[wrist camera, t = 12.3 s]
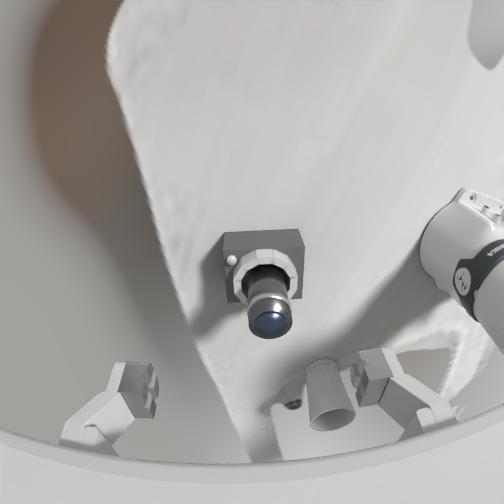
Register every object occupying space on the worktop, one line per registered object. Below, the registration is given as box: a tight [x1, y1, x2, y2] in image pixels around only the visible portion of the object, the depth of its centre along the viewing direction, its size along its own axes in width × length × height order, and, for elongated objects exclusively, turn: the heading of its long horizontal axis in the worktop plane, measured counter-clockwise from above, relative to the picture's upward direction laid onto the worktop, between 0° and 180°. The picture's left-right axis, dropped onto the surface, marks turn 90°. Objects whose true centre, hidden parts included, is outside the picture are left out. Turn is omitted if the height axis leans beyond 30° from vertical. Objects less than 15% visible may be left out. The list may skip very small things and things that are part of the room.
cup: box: [305, 359, 356, 431], centre depth 53 cm, size 8×8×12 cm
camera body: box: [223, 229, 305, 306], centre depth 43 cm, size 10×9×7 cm
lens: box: [247, 264, 292, 339], centre depth 37 cm, size 5×5×9 cm
